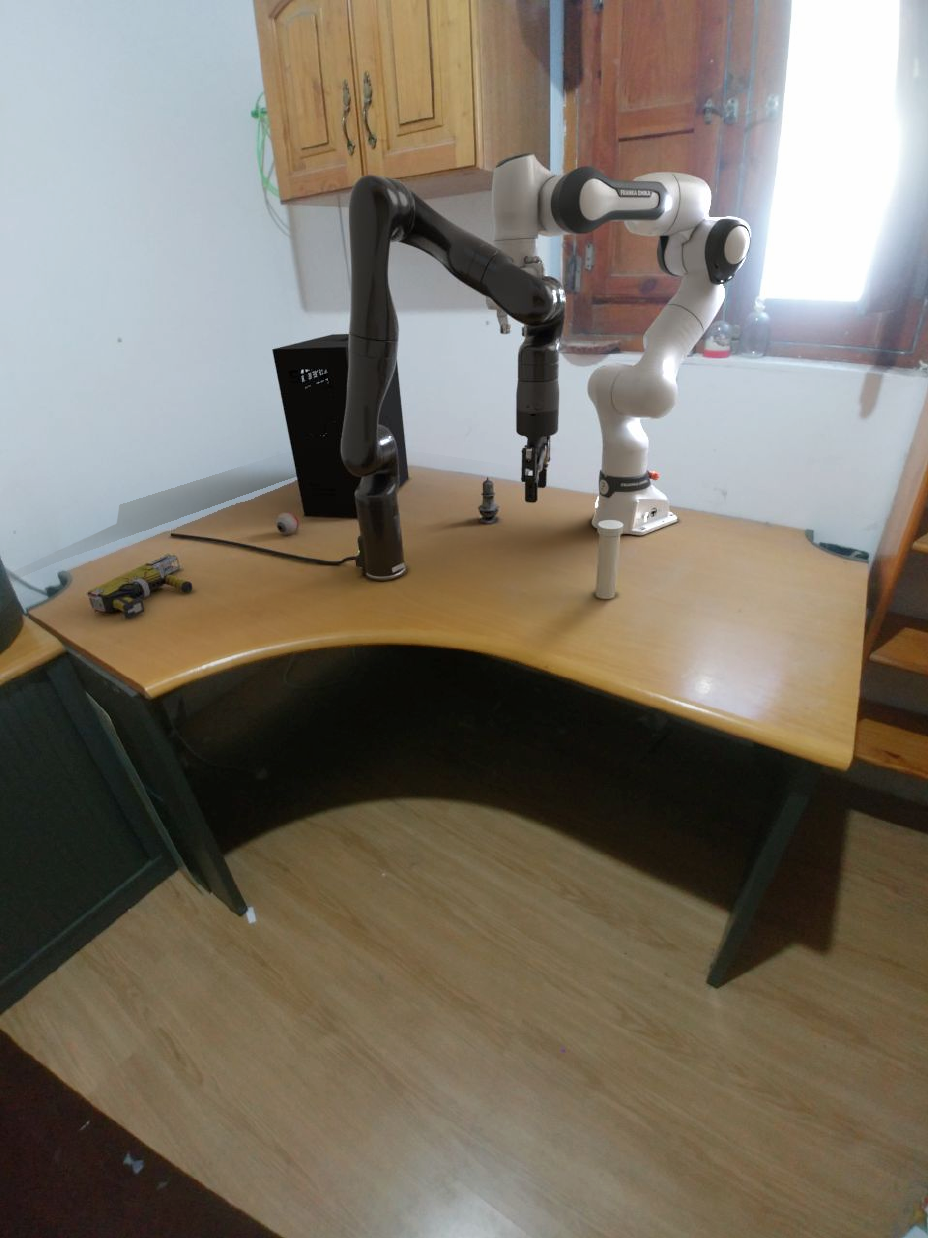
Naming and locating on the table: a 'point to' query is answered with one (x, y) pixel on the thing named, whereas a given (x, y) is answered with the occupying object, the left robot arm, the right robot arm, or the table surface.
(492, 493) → the grey chess piece
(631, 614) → the table surface
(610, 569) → the bottle
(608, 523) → the lid
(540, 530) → the table surface
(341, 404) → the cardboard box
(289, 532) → the eyeball
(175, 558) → the toy gun
